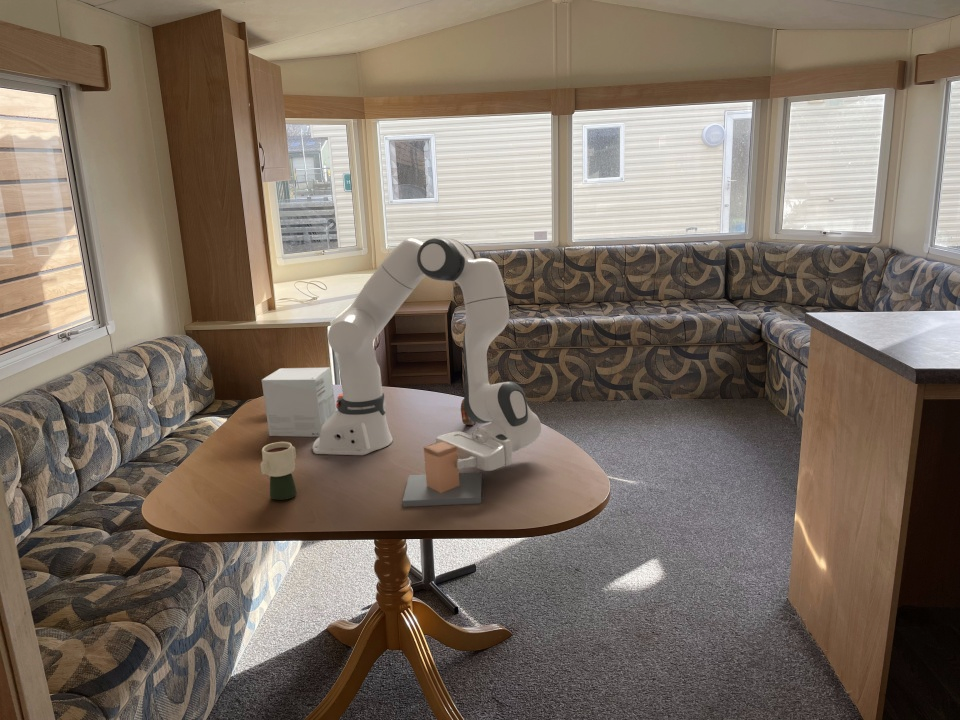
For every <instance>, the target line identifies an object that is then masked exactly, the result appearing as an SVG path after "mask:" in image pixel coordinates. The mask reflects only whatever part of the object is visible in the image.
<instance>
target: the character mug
mask: <svg viewBox="0 0 960 720" xmlns="http://www.w3.org/2000/svg"><path fill="white" fill-rule="evenodd" d="M261 455H262V456H261V457H262V461H261V462H260V471H261V473H262V475H264V476H266V475H267V476H269V497H270V499H272V500H276V501H277V500H279V501H280V500H283V501H284V500H288V499H292V498H294V497H295V496H296V494H297V493H298V492H297V487H296V484H295V480H294V478H293V472H294V471H295V469H296V465H295V464H296V462H295V460H296V459H297V453H296V447H295V446H293V445H292V443H291V442H289V441H278V442H272V443H269V444H266V445H264V446H263V447H262V449H261Z"/></svg>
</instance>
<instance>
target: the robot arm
mask: <svg viewBox="0 0 960 720" xmlns="http://www.w3.org/2000/svg"><path fill="white" fill-rule="evenodd" d="M426 277H427V278H430V279H431V280H435V281H440V282H445V283H451V282H452V283H453V282H454V283H456V284H458V286H459V287H460V289H461V292H462V296H463V302H464V303H463V304H464V309H465V329H464V330H465V331H464V333H463V340H462V343H463V345H462V346H463V347H462V348H463V361H464V374H465V375H464V377H465V391H464V396H463V397H464V398H463V399H464V407H465V411H466V413H467V415H468V417H469V418H470V419H471V420H472V421H474V422H476V423H475V424H479V425H482V424H485V425H483V426H480V427H477V428H476V429H474V430H473V432H472V434H469V433H466V432H463V431H459V430H457V431H452V432H447V433H444V434H441V435H437V437H436V438H435V443H437V442H440V441H445V442H447V443H450V444H452V445H455V446H457V455H458V460H455V462H454V464H455V467H456V468H458V470H461V469H463V468H477V469H479V470H482V471H485V472H491V471H495V470H497V469H499V468H502V467H504V466H506V467H507V466H509V465H511V464H512V460H513V455H512V454H513V453H514V452H518V451H520V450H523V449H525V448H527V447H528V446H530V445H533V443H535V442H536V441H537V439H538V438H539V437H540V435H541V432H542V424H541V421H540V418H539V416H538V415H537V414H536V413H535V412H533V411H532V409H531V408H530V406H529V405H528V403H527V398H526V394H525V392H524V390H523V388H522V387H521V386H520V385H519V384H518V383H516V382H514V381H504V382H498V383H493V384H490V382H489V381H490V380H489V371H488V370H489V369H488V357H487V356H488V355H487V353H488V349H489V346H490V345H491V343H492V342H493V341H494V340H495V338H497V337H498V336H499V335H500V334H501V333H503V331H504V330H505V328H506V326H507V325H508V323H509V320H510V308H509V307H510V306H509V301H508V295H507V291H506V287H505V282H504V280H503V277H502V273H501V270H500V269H499V266H498V264H497V263H496V262H495V261H494V260H493V259H489V258H486V257H481V258H479V257H478V258H477V255H476V253H475V251H474V250H473V248H472V247H471V246H469V245H468V244H466V243H464V242H461V241H459V240H456V239H452V238H445V237H442V236H441V237H439V236H437V237H432V238H429V239H427V240H426V241H424V242H423V241H422V240H420V239H418V238H414V237H412V238H411V237H409V238H406V239H404V240H403V241H402V242H400V243H399V244H398V245H397V246H396V247H394V249H392V250H391V252H389V254H388V255H387V256H386V258H384V260H383V261H382V262H381V263H380V264H379V266H378V267H377V268H376V270H375V271H374V273H373V274H372V275H371V276H370V278H369V279H368V280H367V281H366V283H365V284H364V286H363V287H362V289H361V290H360V291H359V293H358V295H357V296H356V298H355V299H354V301H353V302H352V303H351V305H350V306H349V307H348V308H347V309H346V310H345V312H343V313H342V314H341V315H339V316H337V318H335V319H334V320H333V321H332V323H331V325H330V327H329V330H328V334H327V339H328V340H327V341H328V344H329V346H330V347H331V349H332V350H333V353H334V356H335V360H336V363H337V365H338V369H339V373H340V374H339V375H340V380H341V381H340V382H341V391H342V393H340V394H339V395H338V397H337V399H336V402H335V408H336V409H337V410H336V412H335V413H334V414H333V415H332V416H331V417H329V418H328V419H327V420H326V421H325V422H324V423H323V425H322V427H321V431H320V437H317V438H316V439H315V440H314V443H313V444H312V452H313V453H314V454H316V455H338V456H339V455H341V456H345V455H346V456H347V455H348V456H365V455H367V454H369V453H372V452H374V451H377V450H381V449H383V448H386V447H387V446H389V445H390V444H392V442H393V439H394V438H393V437H392V435H391V431H390V429H389V424H388V421H387V417H386V412H387V411H386V410H387V404H386V398H385V393H384V392H383V385H382V376H381V367H380V365H379V363H378V361H377V357H376V354H375V349H374V340H375V339H376V338H377V337H378V336H379V334H381V332H382V330H383V329H385V327H386V325H387V324H388V323H389V322H390V320H391V319H392V318H393V317H394V315H395V314H396V312H398V310H399V309H400V308H401V306H402V305H403V304H404V302H405V301H406V300H407V299H408V298H409V297H410V295H411V294H412V293H413V292H414V290H415V289H416V288H417V286H419V284H420V282H421V281H422V280H423V279H424V278H426ZM488 423H489V424H488Z"/></svg>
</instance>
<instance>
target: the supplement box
mask: <svg viewBox="0 0 960 720" xmlns="http://www.w3.org/2000/svg"><path fill="white" fill-rule="evenodd" d="M331 369H332V368H331V367H329V366H328V367H288V368H287V367H285V368H284V367H282V368H278V369H277V370H275V371H274V372H272V373H271V374H269V375H267V376H265V377H264V378H262V379H261V385H262V391H263V393H262V394H263V399H264V407H265V414H266V420H267V421H266V422H267V429H268V435H269V437H306V438H307V437H311V438H313V437H314V438H315V437H317V438H319V437H320V431H321V427H322V425H323V423H324V422H325V421H326V420H327V419H328V418H329V417H331V416H332V415H333V414H334V413H335V412H336V411H337V410H336V409H337V408H336V401H335V393H334V385H333V378H332V377H333V375H332V370H331Z"/></svg>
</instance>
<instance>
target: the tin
mask: <svg viewBox="0 0 960 720" xmlns="http://www.w3.org/2000/svg"><path fill="white" fill-rule="evenodd" d="M460 404H461V405H460V414H461V421H462V423H463V424H464V425H465V426H474V425H475V424H477V423H476V422H474V421H472V420H471V419H470V418H469V417H468V415H467V413H466V411H465V407H464V398H463V399H462V401H461V403H460Z"/></svg>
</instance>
